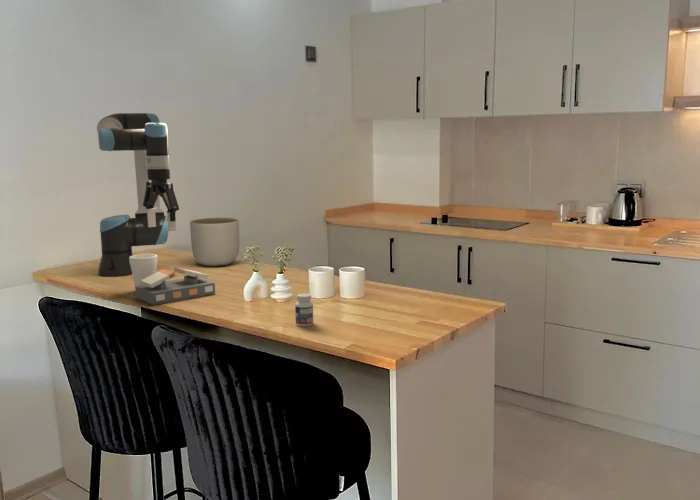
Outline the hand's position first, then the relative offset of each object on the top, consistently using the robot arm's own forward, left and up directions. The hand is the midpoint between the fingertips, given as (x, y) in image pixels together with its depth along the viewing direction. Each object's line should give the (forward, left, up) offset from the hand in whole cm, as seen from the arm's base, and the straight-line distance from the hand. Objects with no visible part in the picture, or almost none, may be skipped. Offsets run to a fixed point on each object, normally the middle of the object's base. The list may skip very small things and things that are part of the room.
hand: (161, 228), depth 229 cm
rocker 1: (+7, -6, -16) cm, 19 cm away
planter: (-34, +39, -23) cm, 57 cm away
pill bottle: (+66, +13, -23) cm, 71 cm away
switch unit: (+7, 0, -23) cm, 24 cm away
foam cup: (-5, -5, -23) cm, 24 cm away
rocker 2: (+7, +6, -16) cm, 19 cm away
